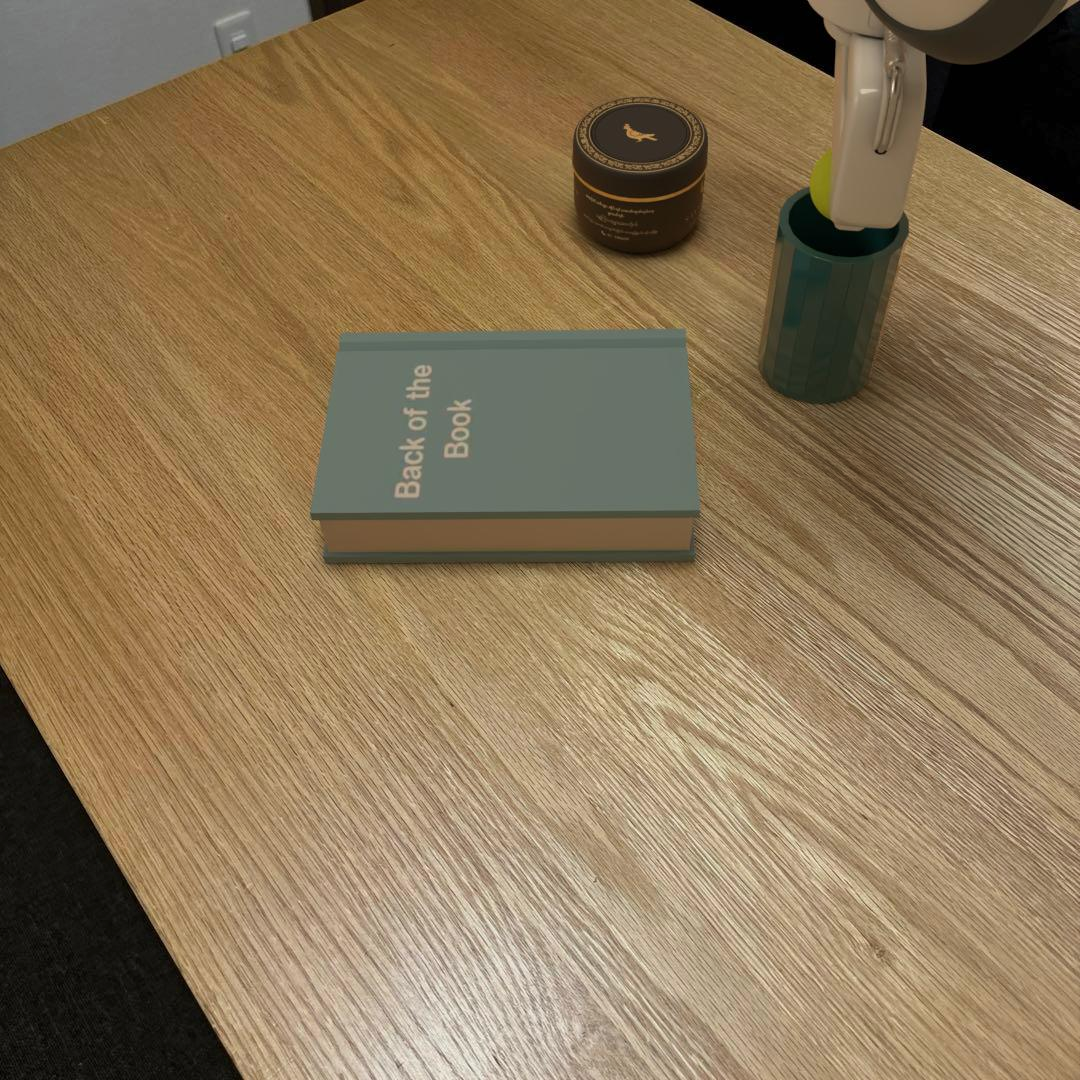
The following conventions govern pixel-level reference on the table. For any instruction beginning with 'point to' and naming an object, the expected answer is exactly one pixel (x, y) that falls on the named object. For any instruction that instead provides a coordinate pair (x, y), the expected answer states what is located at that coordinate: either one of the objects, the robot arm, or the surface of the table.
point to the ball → (822, 184)
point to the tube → (826, 302)
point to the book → (509, 448)
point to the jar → (639, 173)
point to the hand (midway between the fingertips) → (849, 191)
